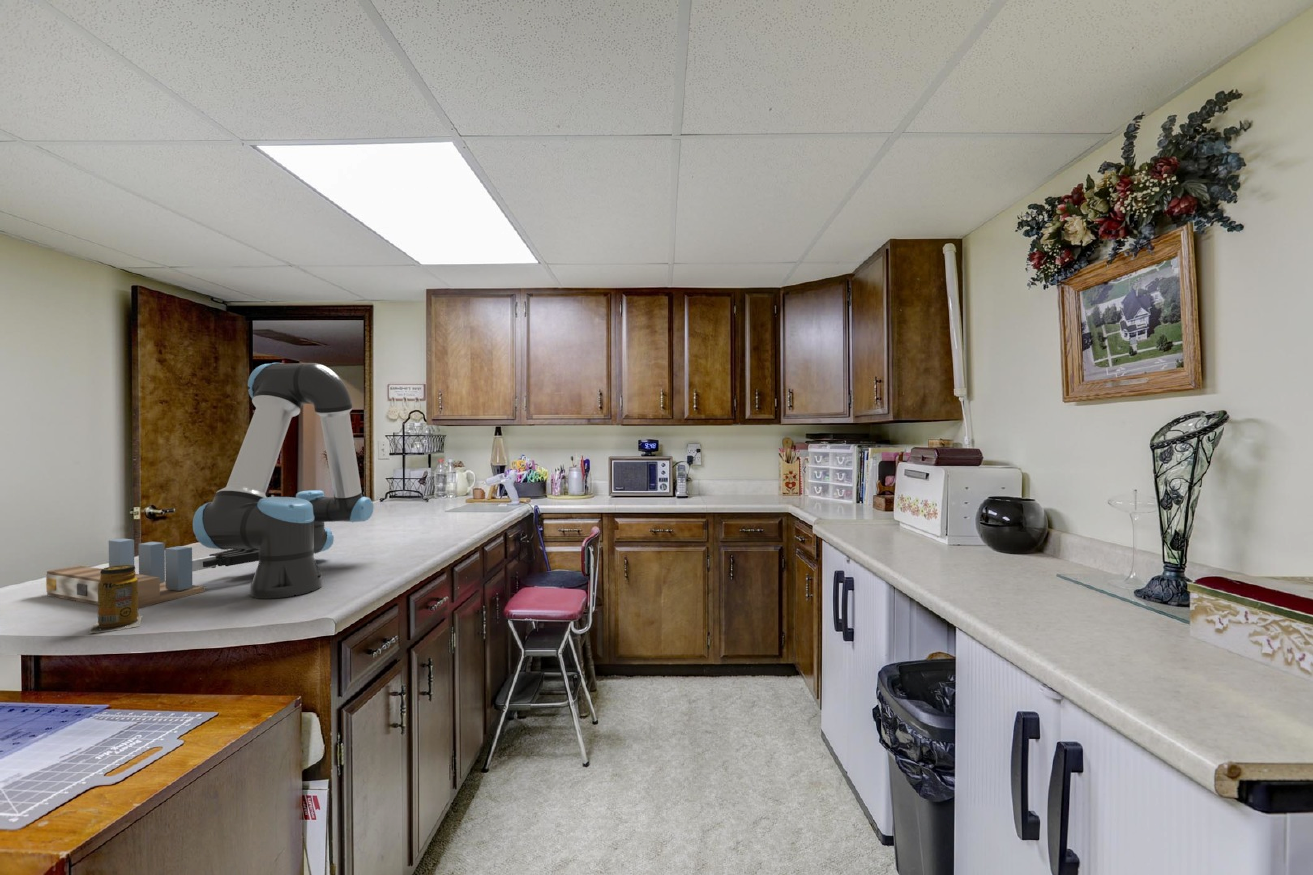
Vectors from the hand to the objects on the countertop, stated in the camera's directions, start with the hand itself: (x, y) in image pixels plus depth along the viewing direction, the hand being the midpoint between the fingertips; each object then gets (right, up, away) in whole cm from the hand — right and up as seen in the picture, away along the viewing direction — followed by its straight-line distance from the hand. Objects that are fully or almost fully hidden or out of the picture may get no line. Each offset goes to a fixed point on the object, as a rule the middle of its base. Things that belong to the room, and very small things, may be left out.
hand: (186, 566), depth 139 cm
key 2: (0, -5, -2) cm, 5 cm away
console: (-14, -6, -1) cm, 16 cm away
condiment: (+6, -7, -23) cm, 25 cm away
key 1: (-24, -5, +8) cm, 26 cm away
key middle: (-12, -5, +4) cm, 14 cm away
